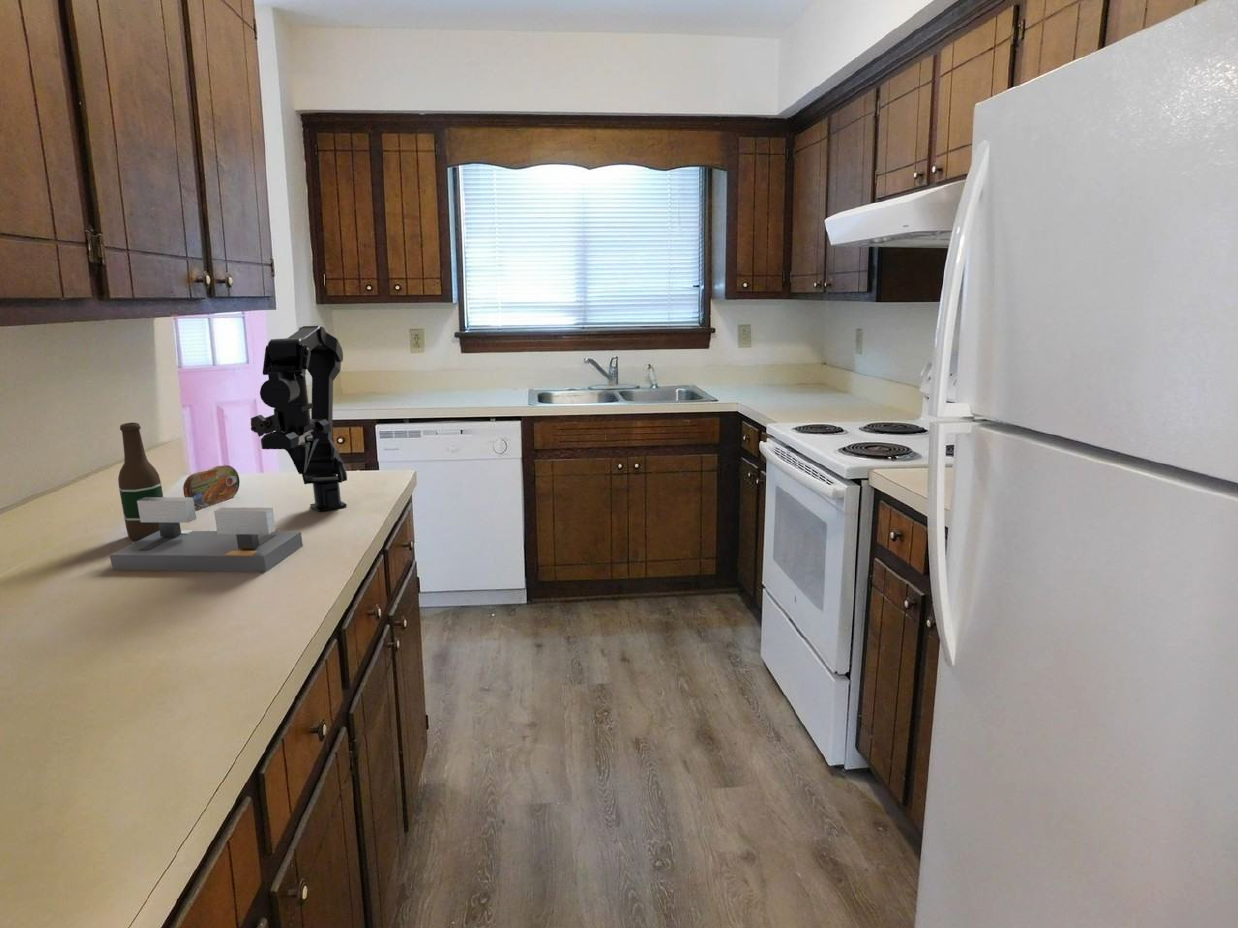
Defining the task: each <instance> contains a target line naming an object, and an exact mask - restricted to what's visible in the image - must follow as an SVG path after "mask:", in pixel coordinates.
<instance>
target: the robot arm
mask: <svg viewBox="0 0 1238 928" xmlns="http://www.w3.org/2000/svg"><path fill="white" fill-rule="evenodd" d="M263 357H264V358H263V360H264V361H263V367H262V376H267V377H268V379H267V380H265V381H264V382H263V383H262V385H261V386H260V391H259V396H260V399H261V400H262V402H263V403H264V404H265V405H266V406H268V407H270V408H273V414H272V415H269V416H266V417H264V416H263V415H262V414H259V415H256V416H253V417H251V418H250V430H251V432H253V433H257V435H258V437H259V438H260V437H261V438H260V446H261V450H285V451H286V452H287V454H288V455H289V456H290V459H291V461H292V462H293V465H294V467H295V469H296V470H297V473H298V474H299V475H301V476H302V480H303V484H304V485H309V484H310V485H311V484H312V488H313V489H312V490H313V497H314V503H310V504H309V506H310V507H311V508H312V509H314V510H316V511H317V512H318V513H319V512H325V511H332V510H335V509H341V508H345V507H347V506H348V505H347V503H345V502H343V501H342V499H341V497H342V496H341V489H340V484H341V483H343V482H346V481H348V473H347V468H346V466H345V464H344V461H343V459H342V458H341V456H340V451H339V450H338V447H337V446H336V445H335V443H334V441H333V418H334V417H333V412H334V411H333V409H334V408H333V405H334V403H333V402H334V381H335V379H336V378H337V376H338V375H339V374H340V372H341V369H342V368H341V367H342V362H343V361H344V352H343V348H342V346H341V344H340V342H339V340H338V339H337V338H336V337H335V336H333V335H331V334H330V333H328V332H327V331H326V329H325V328H324V326H321V325H303V326H301V327H299V328H298V330H297V331H295V332H294V333H293V334H291V335H290V336H289V337H286V338H273V339H270V340H269V341H268V343H267V345H266V346H265V349H264V356H263ZM306 370H307V372H308V373H309V375H310V376H311V402H309V397H308V388H307V379H306V375H307V374H306V373H307V372H306ZM310 410H311V414H310Z"/></svg>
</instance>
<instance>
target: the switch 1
mask: <svg viewBox="0 0 1238 928" xmlns="http://www.w3.org/2000/svg"><path fill="white" fill-rule="evenodd" d="M137 504H138V510H139V516H140V521H141V522H158V524H159V530H160V536H161V537H175V536H177V535H179V534H181V530H182V529H181V523H185V524H186V523H188V524H189V523H191V522H193V521H195V520H197V514H196V507H194V500H193V497H185V496H183V497H182V496H181V497H180V496H179V497H175V496H171V497H170V496H169V497H165V496H163V497H145V498H142V499H140V500H137Z"/></svg>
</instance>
